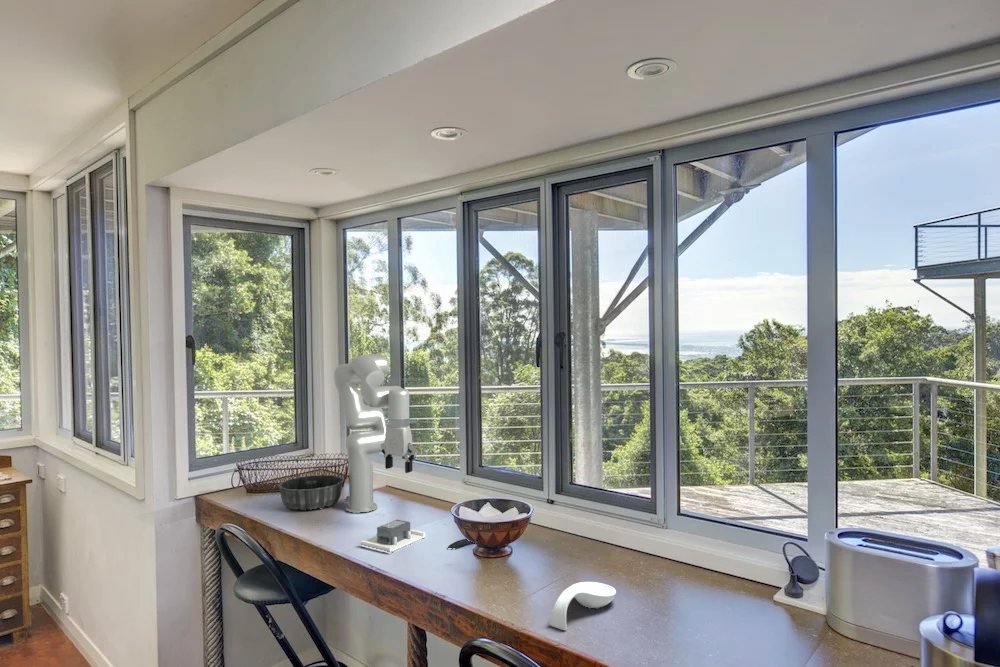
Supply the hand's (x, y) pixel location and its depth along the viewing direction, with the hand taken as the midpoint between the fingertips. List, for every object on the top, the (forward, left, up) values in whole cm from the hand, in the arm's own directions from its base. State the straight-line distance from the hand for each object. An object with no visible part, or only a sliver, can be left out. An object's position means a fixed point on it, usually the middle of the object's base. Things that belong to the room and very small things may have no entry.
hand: (398, 470), depth 224 cm
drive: (+7, -10, -21) cm, 24 cm away
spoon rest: (+84, -24, -23) cm, 90 cm away
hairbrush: (+32, +5, -23) cm, 40 cm away
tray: (+7, -11, -22) cm, 25 cm away
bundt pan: (-55, +6, -22) cm, 60 cm away
